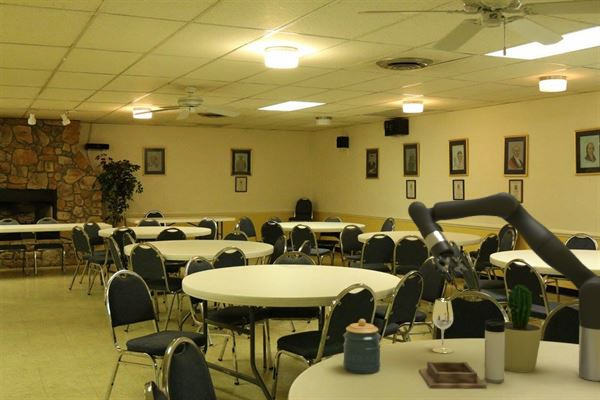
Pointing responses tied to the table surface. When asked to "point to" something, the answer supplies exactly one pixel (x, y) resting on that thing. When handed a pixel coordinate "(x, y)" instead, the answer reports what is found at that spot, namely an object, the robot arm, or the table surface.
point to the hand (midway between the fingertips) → (460, 281)
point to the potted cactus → (521, 333)
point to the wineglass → (442, 320)
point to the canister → (361, 348)
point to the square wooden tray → (451, 375)
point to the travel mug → (494, 351)
